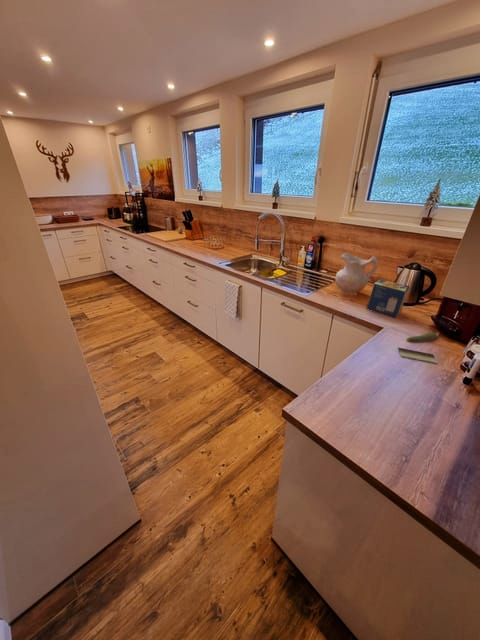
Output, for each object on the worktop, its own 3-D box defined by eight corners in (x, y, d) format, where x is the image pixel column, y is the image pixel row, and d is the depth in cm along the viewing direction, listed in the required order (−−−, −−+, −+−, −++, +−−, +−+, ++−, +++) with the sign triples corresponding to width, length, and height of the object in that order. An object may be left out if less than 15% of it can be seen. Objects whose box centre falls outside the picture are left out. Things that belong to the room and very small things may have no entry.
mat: (429, 349, 113) (430, 348, 113) (436, 364, 104) (437, 362, 104) (396, 342, 117) (396, 341, 117) (400, 356, 108) (401, 355, 107)
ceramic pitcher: (365, 290, 176) (374, 253, 165) (371, 300, 158) (382, 258, 148) (331, 287, 180) (338, 250, 169) (334, 295, 162) (342, 255, 152)
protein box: (371, 303, 154) (379, 278, 147) (400, 312, 145) (410, 286, 138) (365, 309, 147) (373, 283, 140) (395, 318, 138) (405, 291, 131)
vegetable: (408, 348, 114) (441, 341, 120) (414, 342, 111) (447, 335, 117) (401, 340, 117) (433, 334, 123) (407, 334, 114) (440, 328, 120)
